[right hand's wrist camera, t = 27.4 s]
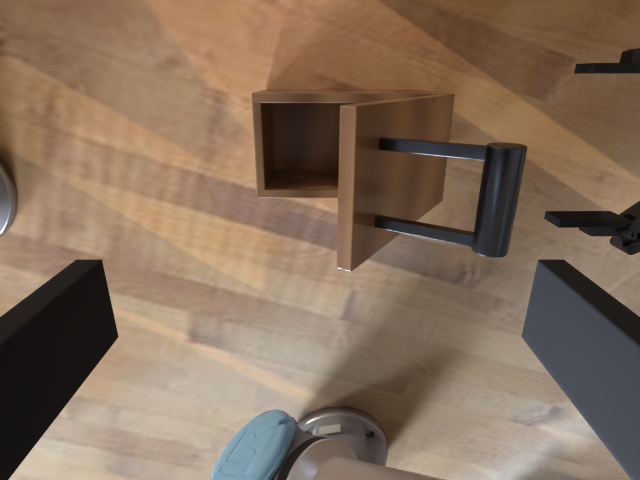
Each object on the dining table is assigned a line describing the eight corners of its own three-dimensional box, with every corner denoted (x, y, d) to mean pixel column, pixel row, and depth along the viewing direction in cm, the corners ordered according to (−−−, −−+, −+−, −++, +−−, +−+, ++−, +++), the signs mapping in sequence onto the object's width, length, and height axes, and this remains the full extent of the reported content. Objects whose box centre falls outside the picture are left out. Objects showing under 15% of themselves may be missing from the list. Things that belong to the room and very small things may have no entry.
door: (336, 268, 26) (489, 309, 21) (339, 105, 22) (524, 113, 18) (431, 199, 40) (535, 215, 36) (442, 93, 37) (559, 96, 32)
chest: (268, 175, 50) (257, 198, 41) (265, 89, 46) (251, 93, 37) (414, 175, 50) (435, 198, 41) (421, 90, 46) (446, 93, 37)
